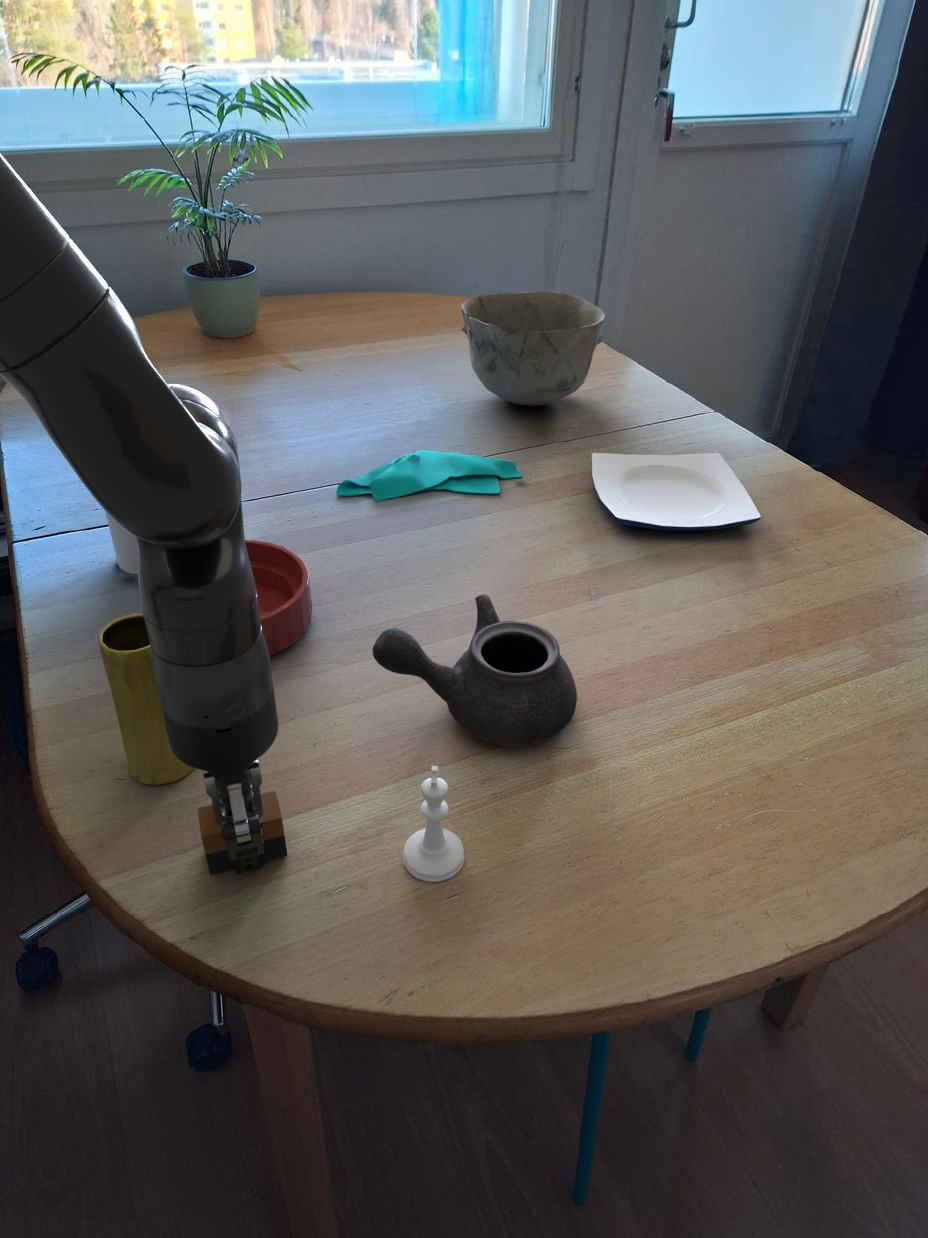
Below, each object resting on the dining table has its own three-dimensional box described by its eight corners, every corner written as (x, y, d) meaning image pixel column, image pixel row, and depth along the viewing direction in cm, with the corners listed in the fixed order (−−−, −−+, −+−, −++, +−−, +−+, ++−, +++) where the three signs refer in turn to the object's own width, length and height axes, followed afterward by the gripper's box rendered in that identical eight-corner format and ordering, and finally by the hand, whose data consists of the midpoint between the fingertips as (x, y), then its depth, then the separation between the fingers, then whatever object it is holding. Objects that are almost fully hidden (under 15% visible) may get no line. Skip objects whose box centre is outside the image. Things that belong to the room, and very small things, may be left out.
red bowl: (162, 684, 85) (151, 639, 82) (153, 593, 98) (143, 552, 94) (326, 653, 90) (322, 610, 87) (297, 571, 102) (293, 530, 99)
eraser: (210, 875, 67) (201, 837, 65) (206, 845, 70) (197, 807, 67) (287, 856, 69) (282, 818, 66) (281, 828, 71) (275, 790, 69)
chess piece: (465, 833, 72) (468, 745, 66) (463, 883, 68) (467, 795, 62) (405, 831, 72) (403, 743, 66) (400, 881, 68) (397, 792, 62)
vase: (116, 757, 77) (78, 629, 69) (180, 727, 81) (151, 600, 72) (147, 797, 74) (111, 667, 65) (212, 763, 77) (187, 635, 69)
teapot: (534, 641, 93) (541, 561, 87) (596, 739, 81) (609, 655, 75) (359, 673, 88) (354, 591, 82) (399, 783, 76) (396, 696, 70)
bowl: (442, 383, 150) (443, 294, 141) (554, 368, 157) (562, 282, 149) (496, 434, 134) (500, 337, 125) (618, 415, 141) (631, 321, 132)
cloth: (511, 451, 129) (512, 436, 128) (529, 495, 119) (530, 480, 117) (335, 457, 126) (334, 442, 125) (336, 503, 115) (335, 487, 114)
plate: (766, 539, 111) (771, 521, 109) (607, 540, 110) (610, 522, 108) (720, 466, 127) (723, 449, 126) (581, 466, 126) (583, 449, 124)
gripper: (152, 635, 63) (190, 797, 74) (165, 770, 53) (207, 938, 63) (257, 617, 66) (279, 778, 76) (289, 744, 55) (310, 911, 65)
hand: (246, 850), depth 69 cm, fingers closed on eraser, 3 cm apart
